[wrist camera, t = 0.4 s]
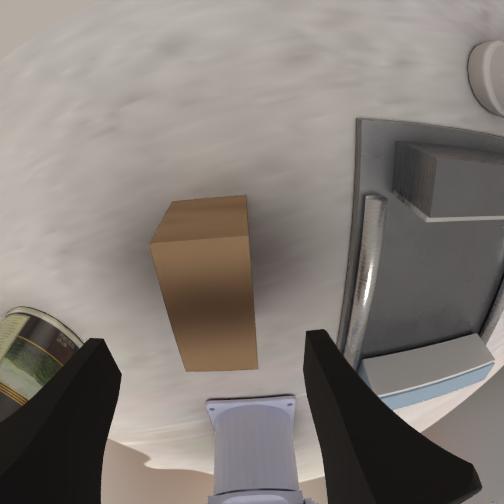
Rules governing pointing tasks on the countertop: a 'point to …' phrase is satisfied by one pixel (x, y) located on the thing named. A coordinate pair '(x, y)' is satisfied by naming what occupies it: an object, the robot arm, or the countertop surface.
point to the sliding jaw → (427, 371)
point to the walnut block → (208, 282)
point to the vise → (423, 239)
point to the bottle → (488, 75)
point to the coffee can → (30, 355)
